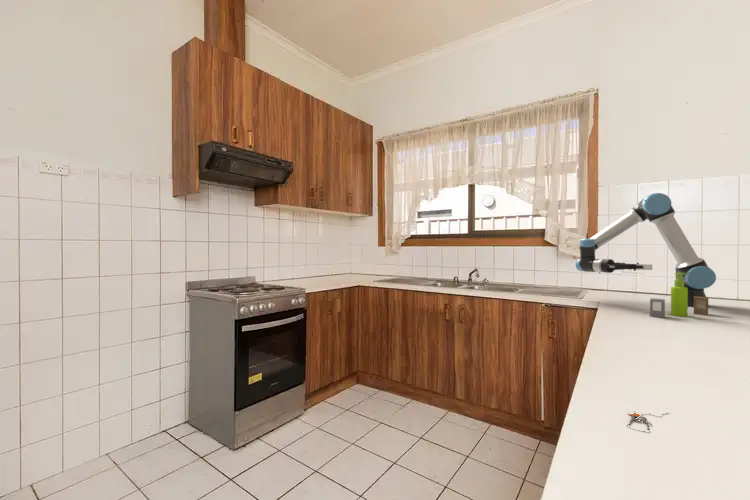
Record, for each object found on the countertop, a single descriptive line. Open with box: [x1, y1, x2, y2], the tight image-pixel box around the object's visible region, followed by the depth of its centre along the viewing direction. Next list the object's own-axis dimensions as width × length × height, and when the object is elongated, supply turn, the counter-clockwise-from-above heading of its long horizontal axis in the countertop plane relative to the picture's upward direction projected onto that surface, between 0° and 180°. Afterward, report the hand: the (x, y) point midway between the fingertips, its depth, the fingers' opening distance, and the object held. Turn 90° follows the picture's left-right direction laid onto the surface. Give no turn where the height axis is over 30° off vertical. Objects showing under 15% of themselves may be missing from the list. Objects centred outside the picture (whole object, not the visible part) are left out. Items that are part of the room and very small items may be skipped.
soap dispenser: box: [670, 272, 689, 317], centre depth 163 cm, size 6×7×20 cm
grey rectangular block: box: [649, 297, 666, 319], centre depth 161 cm, size 5×5×8 cm
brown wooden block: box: [693, 296, 709, 316], centre depth 166 cm, size 5×5×8 cm
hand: (651, 267), depth 173 cm, fingers closed
